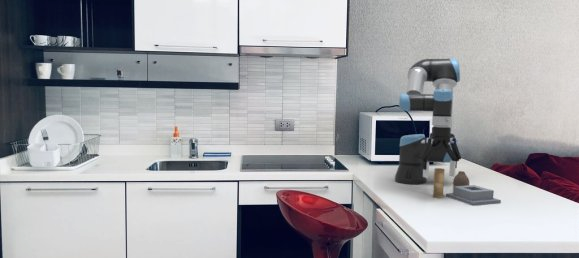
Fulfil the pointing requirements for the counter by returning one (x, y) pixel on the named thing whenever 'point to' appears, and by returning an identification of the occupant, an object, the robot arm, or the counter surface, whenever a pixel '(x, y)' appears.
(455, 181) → the vase
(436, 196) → the peg
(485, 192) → the socket
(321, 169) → the counter surface
